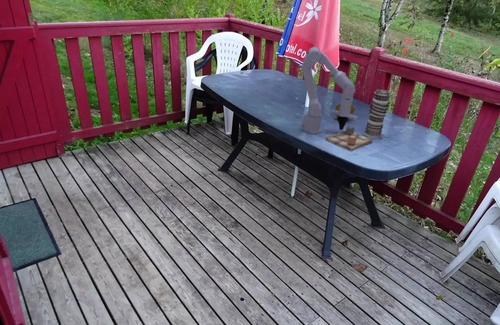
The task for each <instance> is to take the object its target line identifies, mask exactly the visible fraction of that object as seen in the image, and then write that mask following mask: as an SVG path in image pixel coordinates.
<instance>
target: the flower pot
mask: <svg viewBox="0 0 500 325" xmlns="http://www.w3.org/2000/svg"><path fill="white" fill-rule="evenodd" d="M356 108H357V107H356V105H353V104H352V105H351V110H350V114H352V115H354V112H355V110H356ZM339 109H340V103H337V104H335V110H336V111H339ZM335 116H336V118H337V117H338V115H335Z"/></svg>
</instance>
